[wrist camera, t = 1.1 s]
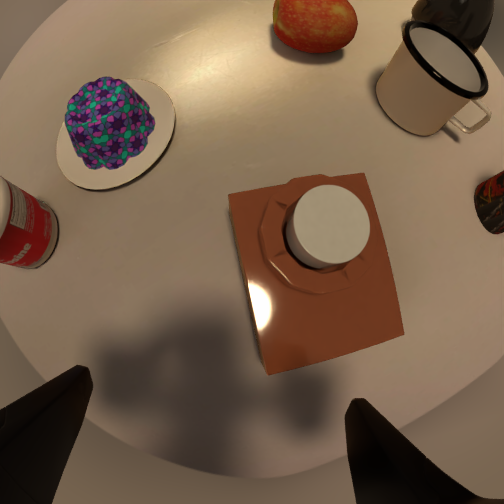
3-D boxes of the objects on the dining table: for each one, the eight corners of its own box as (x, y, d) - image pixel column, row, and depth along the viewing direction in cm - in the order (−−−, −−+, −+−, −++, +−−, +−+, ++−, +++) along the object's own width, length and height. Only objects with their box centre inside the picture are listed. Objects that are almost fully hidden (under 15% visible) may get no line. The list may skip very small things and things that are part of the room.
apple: (270, 19, 29) (278, -33, 21) (339, 29, 29) (357, -18, 21) (268, 61, 27) (277, 3, 20) (347, 73, 28) (372, 21, 20)
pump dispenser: (444, 31, 31) (486, -30, 16) (472, 79, 30) (529, 18, 15) (391, 14, 31) (429, -60, 16) (417, 63, 29) (474, -17, 14)
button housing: (379, 330, 24) (417, 336, 18) (261, 363, 23) (270, 382, 17) (346, 191, 25) (373, 162, 20) (229, 212, 25) (227, 183, 19)
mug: (357, 105, 27) (393, 46, 18) (383, 59, 29) (414, 7, 20) (451, 172, 27) (506, 135, 18) (464, 117, 28) (507, 79, 19)
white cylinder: (361, 260, 19) (378, 254, 16) (295, 275, 18) (304, 271, 16) (343, 194, 19) (357, 179, 17) (278, 205, 19) (284, 190, 17)
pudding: (62, 209, 24) (30, 190, 19) (60, 107, 25) (39, 79, 20) (187, 169, 25) (177, 138, 20) (166, 70, 27) (158, 34, 21)
